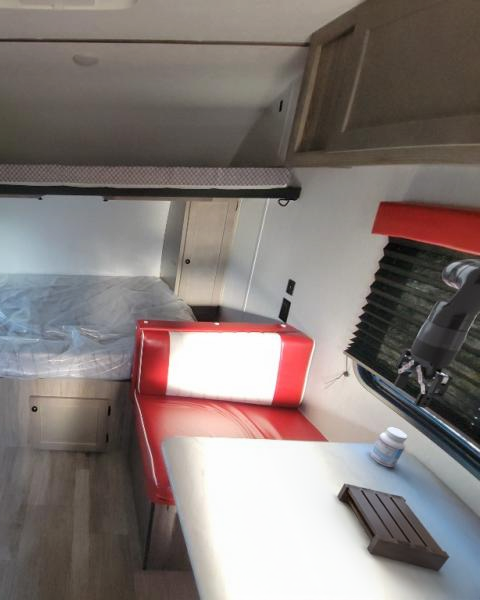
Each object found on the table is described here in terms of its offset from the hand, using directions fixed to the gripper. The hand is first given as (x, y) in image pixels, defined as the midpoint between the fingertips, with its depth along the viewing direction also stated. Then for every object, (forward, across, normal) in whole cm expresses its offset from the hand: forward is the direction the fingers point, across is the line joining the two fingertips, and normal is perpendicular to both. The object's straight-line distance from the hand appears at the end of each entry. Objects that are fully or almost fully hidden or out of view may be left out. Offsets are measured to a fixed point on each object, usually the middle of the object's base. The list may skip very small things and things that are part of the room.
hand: (408, 396), depth 87 cm
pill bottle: (+30, +11, -10) cm, 33 cm away
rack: (+29, -17, +4) cm, 34 cm away
